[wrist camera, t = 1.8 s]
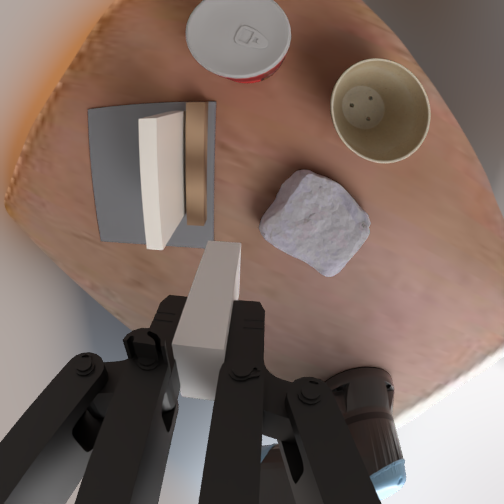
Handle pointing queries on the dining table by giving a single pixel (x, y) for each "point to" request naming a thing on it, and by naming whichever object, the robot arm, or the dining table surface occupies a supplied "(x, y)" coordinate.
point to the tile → (162, 175)
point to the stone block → (315, 222)
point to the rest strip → (196, 162)
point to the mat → (137, 174)
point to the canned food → (239, 38)
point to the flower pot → (380, 110)
